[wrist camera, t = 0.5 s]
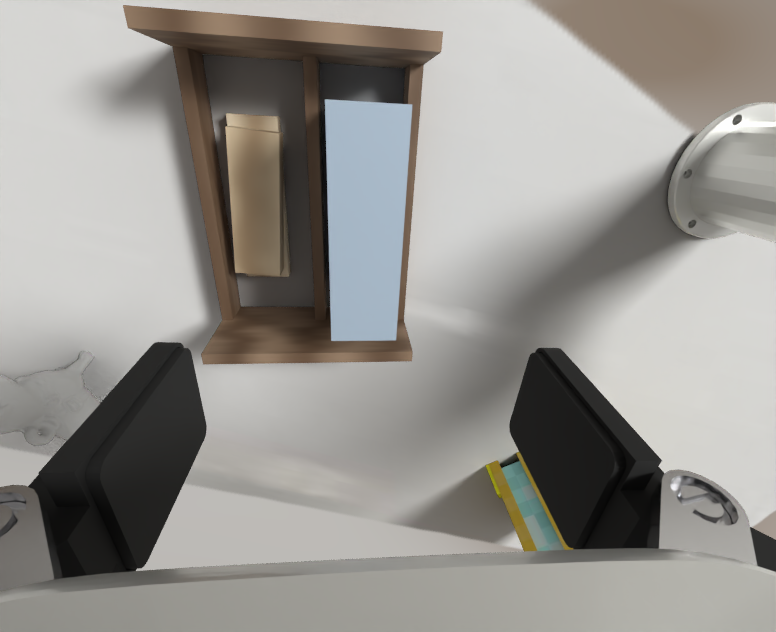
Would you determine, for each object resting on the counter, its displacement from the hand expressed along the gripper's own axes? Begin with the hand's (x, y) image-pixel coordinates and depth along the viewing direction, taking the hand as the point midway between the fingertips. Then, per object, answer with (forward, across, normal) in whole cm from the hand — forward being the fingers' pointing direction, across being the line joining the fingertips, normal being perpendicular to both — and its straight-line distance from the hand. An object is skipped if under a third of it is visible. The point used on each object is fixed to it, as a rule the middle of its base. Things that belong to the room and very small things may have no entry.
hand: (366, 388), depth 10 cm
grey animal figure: (+28, +29, +21) cm, 46 cm away
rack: (+28, +5, 0) cm, 28 cm away
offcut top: (+26, +9, +1) cm, 28 cm away
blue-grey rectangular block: (+28, 0, 0) cm, 28 cm away
